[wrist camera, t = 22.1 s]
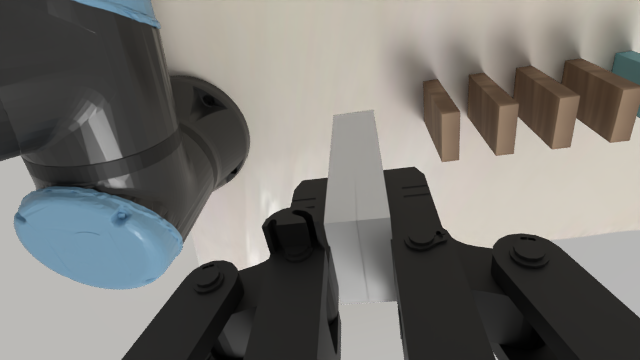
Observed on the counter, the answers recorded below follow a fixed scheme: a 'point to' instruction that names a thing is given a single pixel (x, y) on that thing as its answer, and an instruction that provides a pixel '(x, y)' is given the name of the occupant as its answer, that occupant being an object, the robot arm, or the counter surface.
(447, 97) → the domino
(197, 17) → the counter surface
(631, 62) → the domino
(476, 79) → the domino
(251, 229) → the counter surface
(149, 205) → the robot arm
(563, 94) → the domino
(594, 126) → the domino
